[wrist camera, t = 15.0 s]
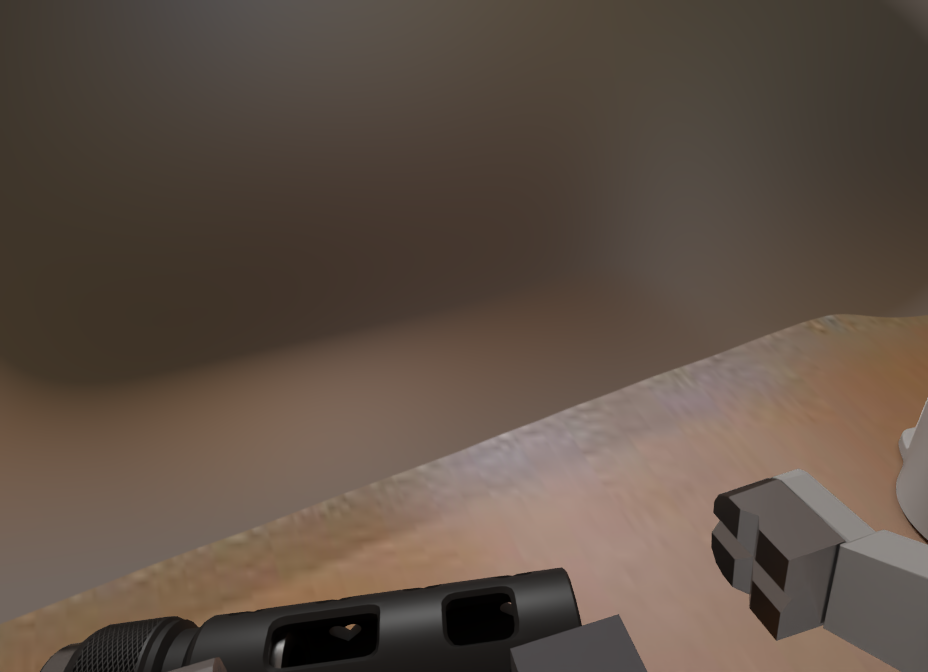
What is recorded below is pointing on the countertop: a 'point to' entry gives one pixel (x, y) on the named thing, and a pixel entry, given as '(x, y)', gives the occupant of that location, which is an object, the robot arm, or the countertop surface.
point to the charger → (581, 650)
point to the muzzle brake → (348, 632)
